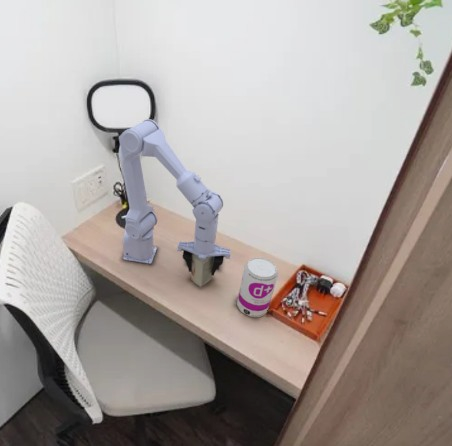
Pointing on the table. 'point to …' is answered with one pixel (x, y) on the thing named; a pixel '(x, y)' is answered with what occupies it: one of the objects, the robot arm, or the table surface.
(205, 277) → the product carton box
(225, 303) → the table surface
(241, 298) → the supplement can
